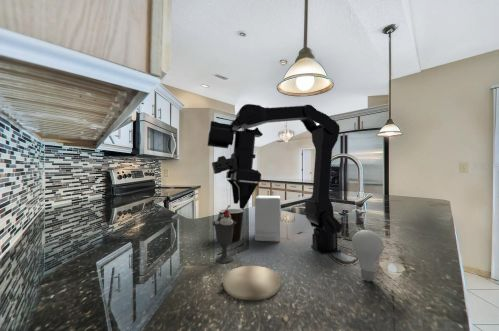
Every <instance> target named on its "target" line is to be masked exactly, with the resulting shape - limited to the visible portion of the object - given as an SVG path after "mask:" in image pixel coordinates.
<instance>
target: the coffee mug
mask: <svg viewBox="0 0 499 331" xmlns="http://www.w3.org/2000/svg"><path fill="white" fill-rule="evenodd" d="M226 210H228V211H229V214H230V215H231V218H232V220H233V221H235V222H237V224H236V225H235V226H234V229H233V237H232V242H231V243H235V242H239V241H240V240H241V235H242V228H243V226H242V225H243V219H244V218H243V217H244V210H243V209H240V208H239V209H238V208H228V209H227V208H224V209H221V210H219V211H218V214H219V213H223V212H225V211H226Z"/></svg>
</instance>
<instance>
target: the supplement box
mask: <svg viewBox="0 0 499 331" xmlns="http://www.w3.org/2000/svg"><path fill="white" fill-rule="evenodd" d="M281 205H282V204H281V196H280V195H256V197H255V198H254V241H260V242H262V241H263V242H276V243H277V242H279V243H280V242H281V233H282V232H281V226H282V225H281V224H282V223H281V222H282V221H281V220H282V219H281V218H282V216H281V215H282V213H281V209H282V208H281Z"/></svg>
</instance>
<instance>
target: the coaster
mask: <svg viewBox="0 0 499 331" xmlns="http://www.w3.org/2000/svg"><path fill="white" fill-rule="evenodd" d="M280 279H281V278H280V276H279V274H278V273H277V272H276V271H274V270H272V269H271V268H268V267H264V266H258V265H244V266H239V267H236V268H233V269H230V270H229V271H228V272H226V273H225V274H224V276H223V279H222V280H223V283H222V286H223V289H224V292H226V293H227V294H228V295H229V296H231V297H232V298H235V299H237V300H243V301H261V300H265V299H268V298H271V297H272V296H275V294H277V293H278V292H279V290H280V288H281V280H280Z"/></svg>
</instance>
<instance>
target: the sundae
mask: <svg viewBox="0 0 499 331" xmlns="http://www.w3.org/2000/svg"><path fill="white" fill-rule="evenodd" d="M230 207H231V205H230V204H228V206H227V207H226V209H230ZM236 224H237V222H235V221H233V220H232V218H231V215H230V214H229V211H228V210H226V211H225V212H223V213H219V212H218V217H217V219H216V220H214V221H212V226H214V230H215V237H216V241H217V242H216V244H218V245H219V246H220V247H221V248H222V251H221V255H219V256H217V257H215V260H214V261H215V262H216V263H218V264H229V263H232V262H233V261H234V257H233V256H231V255H229V254H228V252H227V250H228V249H227V247H229V246H230V245H231V243H233V242H232V237H233V229H234V226H235V225H236Z"/></svg>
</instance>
